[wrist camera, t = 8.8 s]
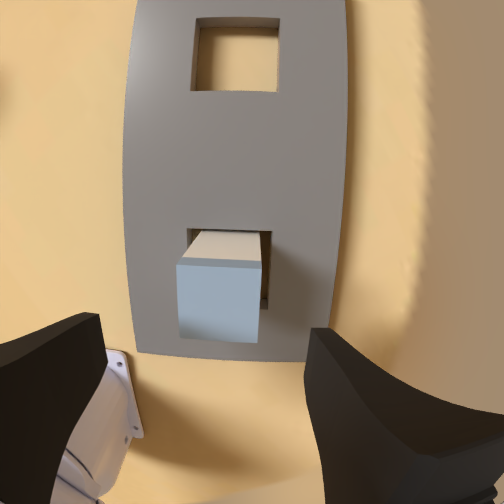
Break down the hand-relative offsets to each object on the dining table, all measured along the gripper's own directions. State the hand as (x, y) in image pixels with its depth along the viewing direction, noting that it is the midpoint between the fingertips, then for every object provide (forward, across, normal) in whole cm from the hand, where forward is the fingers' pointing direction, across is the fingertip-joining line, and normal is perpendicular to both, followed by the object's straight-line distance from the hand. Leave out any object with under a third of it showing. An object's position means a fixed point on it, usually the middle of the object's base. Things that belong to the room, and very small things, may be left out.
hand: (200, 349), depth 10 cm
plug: (+9, 0, 0) cm, 9 cm away
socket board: (+9, 0, -6) cm, 11 cm away
